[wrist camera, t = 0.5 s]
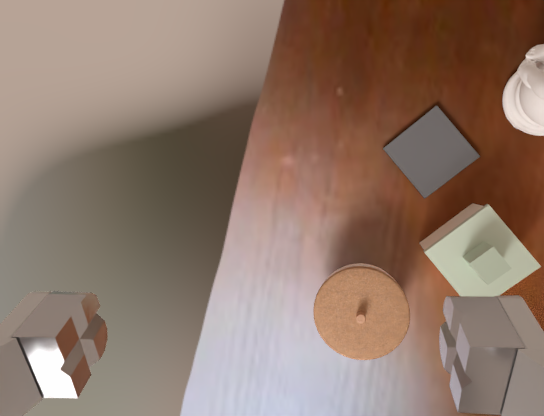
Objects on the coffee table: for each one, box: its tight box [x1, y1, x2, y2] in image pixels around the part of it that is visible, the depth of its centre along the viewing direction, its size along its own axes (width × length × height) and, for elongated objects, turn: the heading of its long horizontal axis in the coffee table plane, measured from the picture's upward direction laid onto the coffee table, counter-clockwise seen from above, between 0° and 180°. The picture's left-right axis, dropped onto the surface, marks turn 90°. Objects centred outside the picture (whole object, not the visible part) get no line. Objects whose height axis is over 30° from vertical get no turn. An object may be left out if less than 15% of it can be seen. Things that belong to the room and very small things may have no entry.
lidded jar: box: [314, 263, 410, 360], centre depth 54 cm, size 11×11×9 cm
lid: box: [424, 204, 541, 297], centre depth 48 cm, size 8×8×4 cm
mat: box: [383, 105, 480, 198], centre depth 55 cm, size 8×8×1 cm
